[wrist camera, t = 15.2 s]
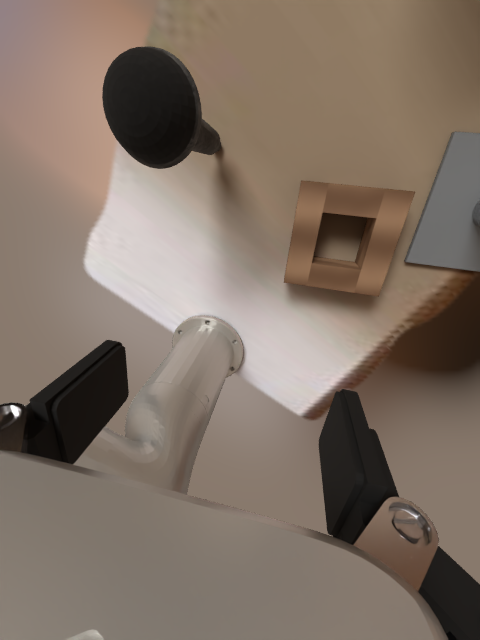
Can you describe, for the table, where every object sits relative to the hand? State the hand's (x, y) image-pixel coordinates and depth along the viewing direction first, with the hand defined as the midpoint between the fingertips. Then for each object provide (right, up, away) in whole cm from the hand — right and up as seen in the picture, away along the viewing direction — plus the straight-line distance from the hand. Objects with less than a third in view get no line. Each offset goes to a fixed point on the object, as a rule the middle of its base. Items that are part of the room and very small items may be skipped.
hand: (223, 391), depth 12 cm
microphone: (-2, +25, +22) cm, 33 cm away
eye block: (+14, +14, +24) cm, 31 cm away
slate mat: (+30, +16, +19) cm, 39 cm away
